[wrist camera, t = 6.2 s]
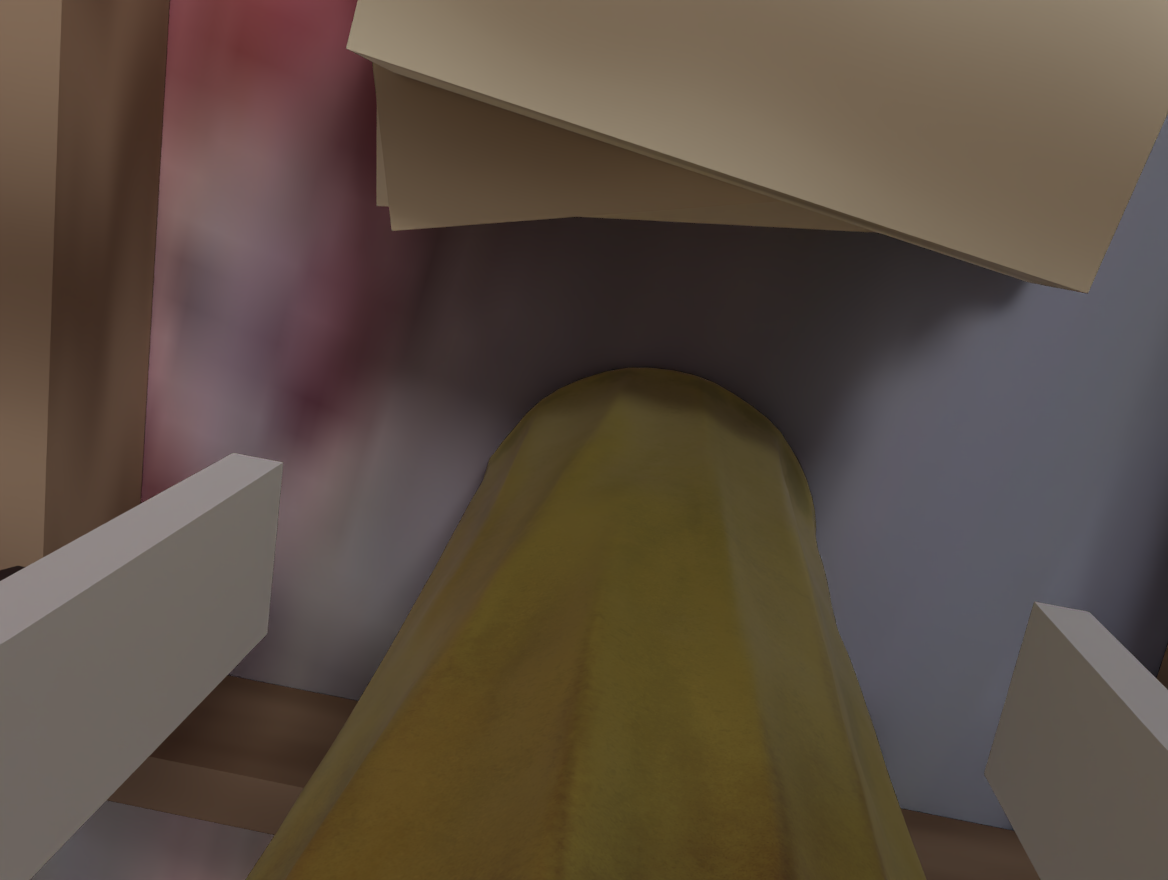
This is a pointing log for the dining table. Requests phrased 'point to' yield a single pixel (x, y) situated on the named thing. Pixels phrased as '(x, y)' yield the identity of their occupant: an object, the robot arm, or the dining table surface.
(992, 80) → the offcut top
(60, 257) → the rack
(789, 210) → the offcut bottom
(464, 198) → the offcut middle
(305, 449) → the dining table surface
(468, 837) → the vase
